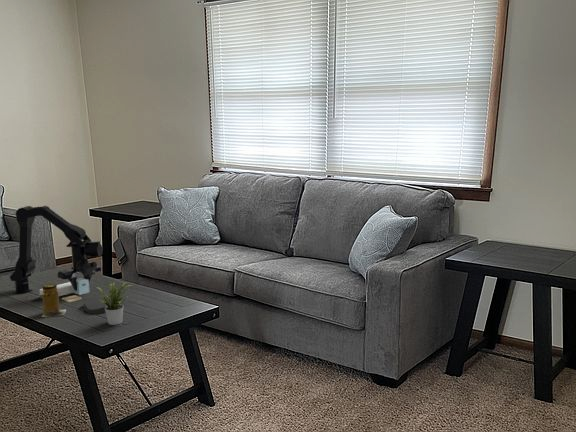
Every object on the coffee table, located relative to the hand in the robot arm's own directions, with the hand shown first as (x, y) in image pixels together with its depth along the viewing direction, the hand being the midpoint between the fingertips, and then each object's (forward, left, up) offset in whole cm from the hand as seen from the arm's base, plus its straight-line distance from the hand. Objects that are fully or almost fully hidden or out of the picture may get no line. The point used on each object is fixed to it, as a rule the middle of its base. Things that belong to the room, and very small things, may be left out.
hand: (81, 289), depth 250 cm
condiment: (+17, -22, -2) cm, 28 cm away
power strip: (-5, -9, -1) cm, 10 cm away
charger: (-1, 0, -1) cm, 2 cm away
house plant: (+47, -12, -2) cm, 48 cm away
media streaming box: (+26, -5, -2) cm, 26 cm away
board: (+6, -8, -2) cm, 10 cm away
